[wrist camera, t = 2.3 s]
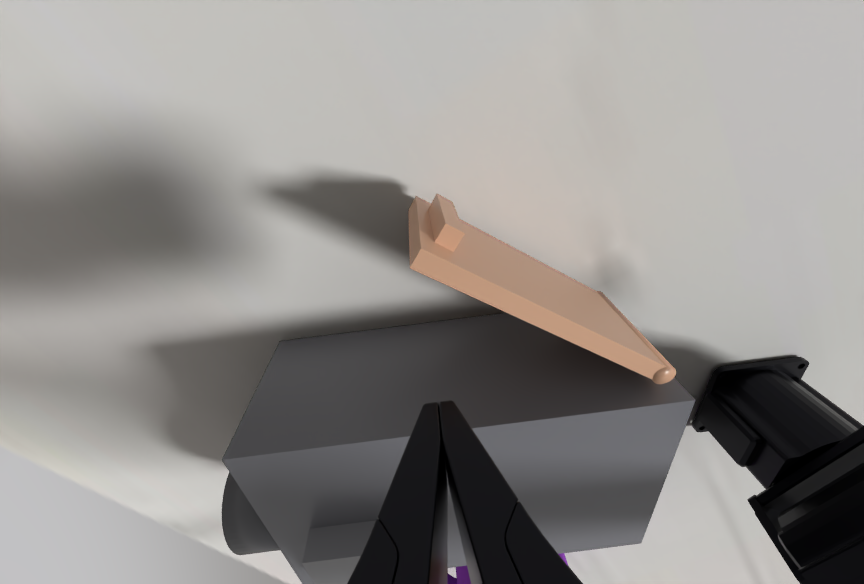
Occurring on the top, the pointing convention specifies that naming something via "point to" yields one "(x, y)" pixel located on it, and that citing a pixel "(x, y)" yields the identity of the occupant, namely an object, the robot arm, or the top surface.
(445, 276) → the side door
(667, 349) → the top surface
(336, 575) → the block
